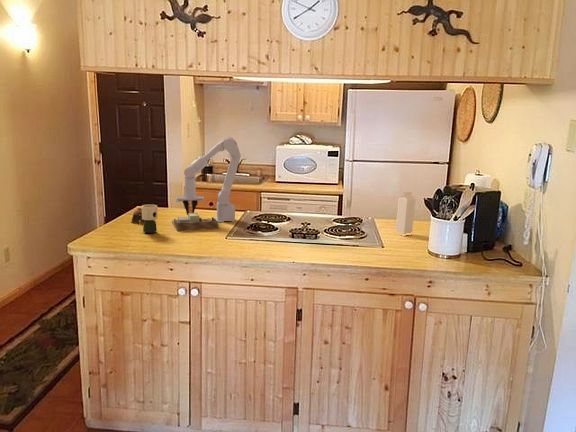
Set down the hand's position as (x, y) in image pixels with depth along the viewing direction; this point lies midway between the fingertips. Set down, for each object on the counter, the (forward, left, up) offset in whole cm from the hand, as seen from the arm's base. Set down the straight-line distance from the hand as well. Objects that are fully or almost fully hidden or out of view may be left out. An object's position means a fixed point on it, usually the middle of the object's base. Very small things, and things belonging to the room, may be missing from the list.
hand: (190, 214), depth 266 cm
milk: (-99, +51, -3) cm, 112 cm away
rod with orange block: (0, +6, -2) cm, 6 cm away
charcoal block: (+6, +16, -3) cm, 18 cm away
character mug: (+23, +21, -3) cm, 32 cm away
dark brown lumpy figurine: (+25, 0, -3) cm, 25 cm away
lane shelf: (0, +12, -3) cm, 13 cm away
